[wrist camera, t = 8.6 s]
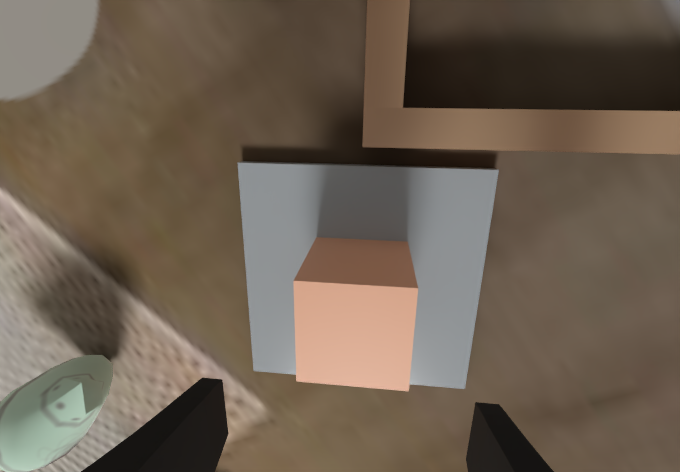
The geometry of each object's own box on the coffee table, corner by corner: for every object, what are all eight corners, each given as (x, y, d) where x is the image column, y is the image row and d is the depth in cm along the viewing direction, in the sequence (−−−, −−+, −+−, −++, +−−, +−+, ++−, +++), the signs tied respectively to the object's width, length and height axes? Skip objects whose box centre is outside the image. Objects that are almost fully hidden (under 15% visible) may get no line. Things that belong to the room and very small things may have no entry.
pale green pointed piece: (136, 318, 21) (32, 404, 15) (172, 372, 22) (89, 474, 16) (40, 356, 23) (-90, 448, 17) (77, 404, 24) (-32, 508, 18)
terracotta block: (407, 241, 17) (418, 288, 13) (401, 322, 19) (408, 391, 14) (316, 237, 18) (293, 280, 13) (316, 316, 19) (296, 381, 14)
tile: (494, 167, 16) (498, 170, 16) (462, 381, 20) (464, 388, 20) (242, 161, 18) (237, 162, 17) (257, 364, 21) (253, 370, 21)
